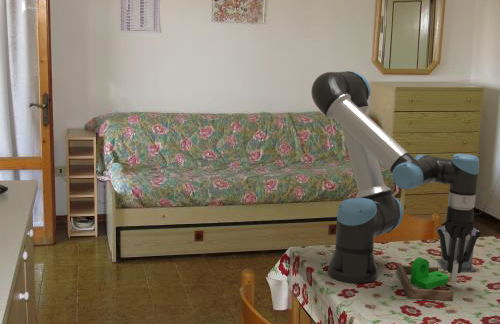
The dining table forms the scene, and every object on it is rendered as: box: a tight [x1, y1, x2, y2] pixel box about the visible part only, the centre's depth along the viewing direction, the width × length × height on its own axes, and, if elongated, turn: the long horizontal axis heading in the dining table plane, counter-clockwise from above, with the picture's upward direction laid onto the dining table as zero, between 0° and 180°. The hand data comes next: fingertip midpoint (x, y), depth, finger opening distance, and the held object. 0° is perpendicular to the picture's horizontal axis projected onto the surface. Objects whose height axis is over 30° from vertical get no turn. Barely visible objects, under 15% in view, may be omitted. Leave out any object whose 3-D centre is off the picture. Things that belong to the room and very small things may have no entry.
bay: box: [396, 262, 455, 301], centre depth 201 cm, size 13×21×3 cm, turn 176°
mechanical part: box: [409, 256, 449, 290], centre depth 203 cm, size 12×6×8 cm, turn 125°
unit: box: [436, 231, 476, 273], centre depth 219 cm, size 10×10×11 cm
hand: (452, 282), depth 200 cm, fingers closed
